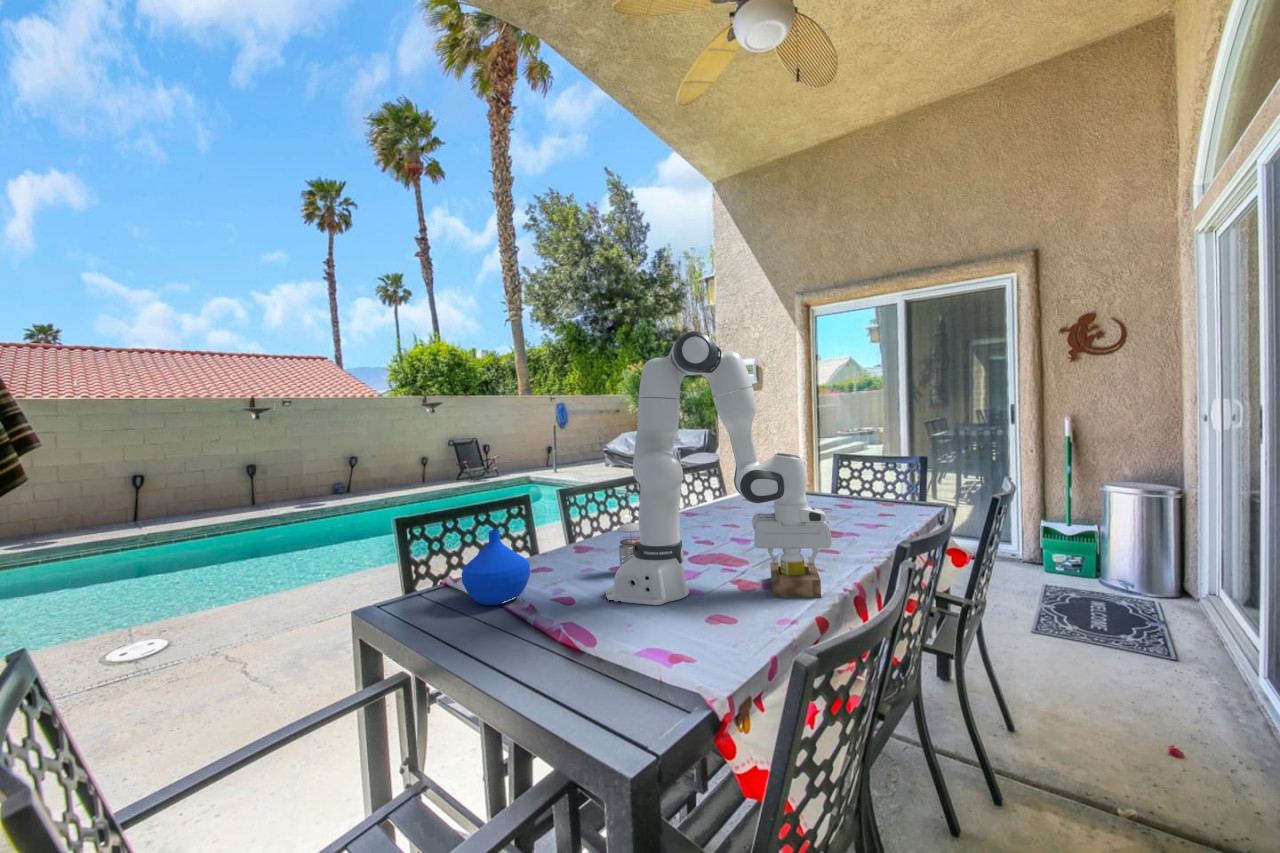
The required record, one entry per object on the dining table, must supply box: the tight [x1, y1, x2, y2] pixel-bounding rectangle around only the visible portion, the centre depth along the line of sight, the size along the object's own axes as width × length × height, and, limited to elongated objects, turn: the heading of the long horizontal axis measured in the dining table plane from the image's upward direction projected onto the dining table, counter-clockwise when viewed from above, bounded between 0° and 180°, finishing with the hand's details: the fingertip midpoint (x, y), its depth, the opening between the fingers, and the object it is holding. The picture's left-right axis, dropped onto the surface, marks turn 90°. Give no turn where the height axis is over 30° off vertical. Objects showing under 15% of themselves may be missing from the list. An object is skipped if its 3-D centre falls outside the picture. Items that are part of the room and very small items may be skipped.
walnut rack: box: [769, 561, 822, 598], centre depth 148 cm, size 12×16×4 cm
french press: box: [616, 491, 640, 568], centre depth 170 cm, size 10×12×25 cm
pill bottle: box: [779, 548, 805, 575], centre depth 148 cm, size 6×6×11 cm
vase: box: [461, 529, 531, 606], centre depth 151 cm, size 18×18×19 cm
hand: (793, 564), depth 148 cm, fingers open, 8 cm apart
